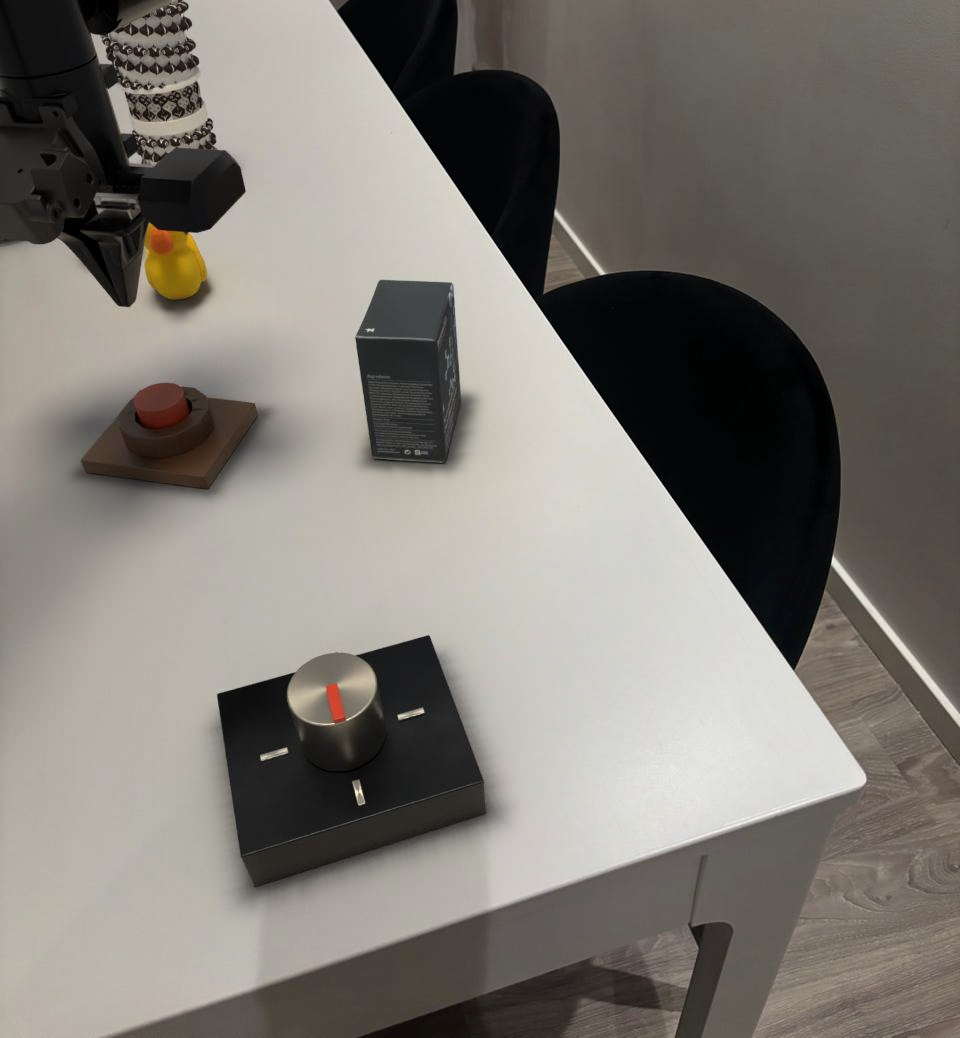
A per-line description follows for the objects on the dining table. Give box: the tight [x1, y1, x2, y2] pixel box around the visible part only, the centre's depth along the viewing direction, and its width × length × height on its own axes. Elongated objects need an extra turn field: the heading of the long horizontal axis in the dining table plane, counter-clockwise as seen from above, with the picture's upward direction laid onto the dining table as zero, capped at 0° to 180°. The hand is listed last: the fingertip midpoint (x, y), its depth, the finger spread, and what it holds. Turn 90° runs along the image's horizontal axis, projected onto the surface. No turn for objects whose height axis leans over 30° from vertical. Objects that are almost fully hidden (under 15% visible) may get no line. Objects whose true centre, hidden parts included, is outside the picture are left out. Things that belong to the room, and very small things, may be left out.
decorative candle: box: [99, 0, 219, 166], centre depth 99 cm, size 9×9×25 cm
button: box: [133, 382, 189, 429], centre depth 71 cm, size 4×4×2 cm
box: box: [354, 279, 462, 464], centre depth 70 cm, size 8×6×11 cm
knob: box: [287, 652, 386, 771], centre depth 48 cm, size 4×4×4 cm
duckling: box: [144, 222, 208, 300], centre depth 87 cm, size 11×5×10 cm, turn 14°
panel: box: [216, 634, 487, 887], centre depth 51 cm, size 12×10×3 cm
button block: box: [80, 385, 259, 490], centre depth 72 cm, size 10×9×3 cm
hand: (127, 304), depth 65 cm, fingers closed
